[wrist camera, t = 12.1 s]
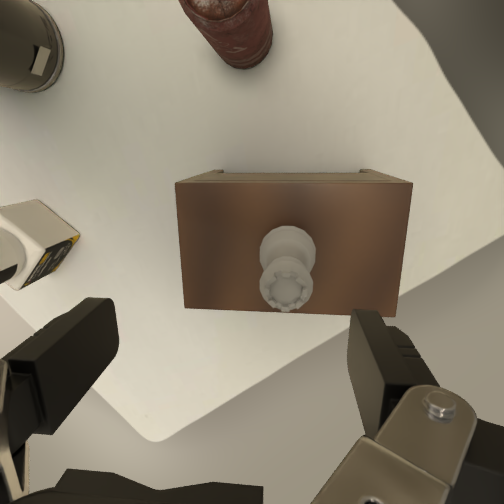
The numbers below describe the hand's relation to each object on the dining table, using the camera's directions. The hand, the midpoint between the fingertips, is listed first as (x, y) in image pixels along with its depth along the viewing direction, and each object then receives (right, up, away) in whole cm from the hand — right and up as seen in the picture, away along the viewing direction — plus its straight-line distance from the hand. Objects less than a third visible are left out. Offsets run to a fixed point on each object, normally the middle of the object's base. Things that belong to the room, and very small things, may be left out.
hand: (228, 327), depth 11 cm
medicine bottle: (-26, +5, +34) cm, 43 cm away
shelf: (+5, +7, +29) cm, 30 cm away
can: (0, +25, +24) cm, 35 cm away
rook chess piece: (+4, +3, +16) cm, 17 cm away
